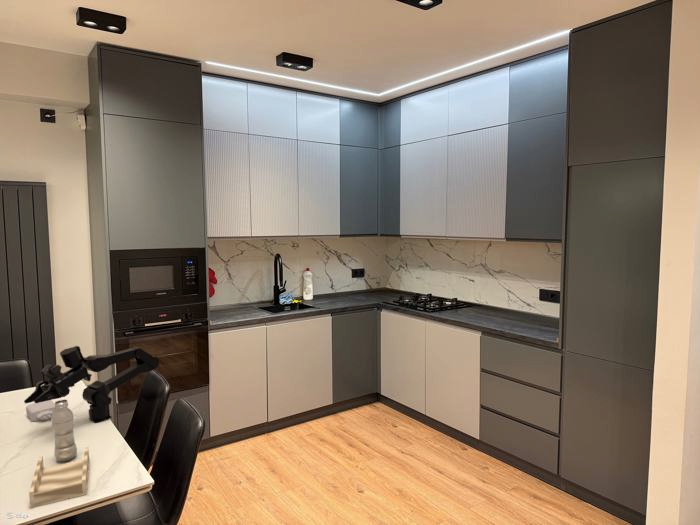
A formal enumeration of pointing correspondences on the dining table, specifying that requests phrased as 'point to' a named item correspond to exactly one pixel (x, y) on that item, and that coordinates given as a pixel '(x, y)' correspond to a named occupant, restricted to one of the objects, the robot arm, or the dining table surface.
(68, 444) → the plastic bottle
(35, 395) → the robot arm
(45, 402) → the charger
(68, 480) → the tray
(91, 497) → the dining table surface
